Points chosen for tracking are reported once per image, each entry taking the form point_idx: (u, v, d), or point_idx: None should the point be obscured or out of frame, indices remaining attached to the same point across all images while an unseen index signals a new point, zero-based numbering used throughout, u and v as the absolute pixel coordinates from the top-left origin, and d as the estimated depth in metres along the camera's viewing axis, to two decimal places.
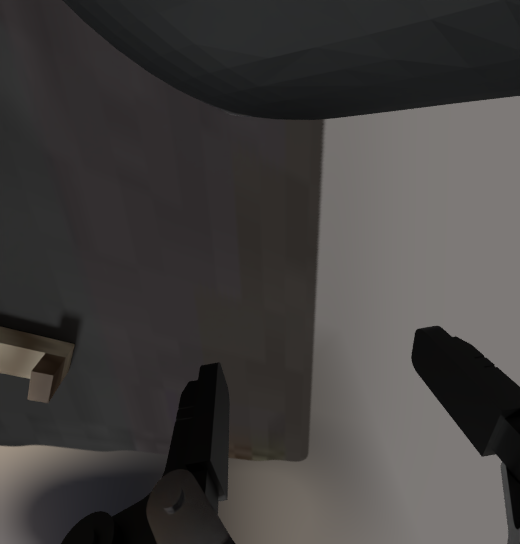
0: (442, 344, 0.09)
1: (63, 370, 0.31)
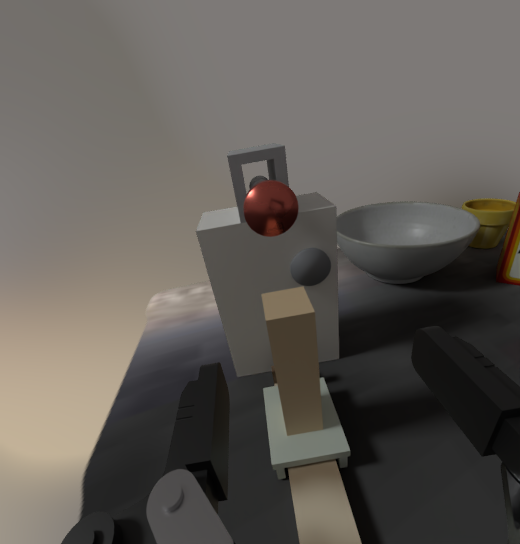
0: (442, 344, 0.09)
1: None
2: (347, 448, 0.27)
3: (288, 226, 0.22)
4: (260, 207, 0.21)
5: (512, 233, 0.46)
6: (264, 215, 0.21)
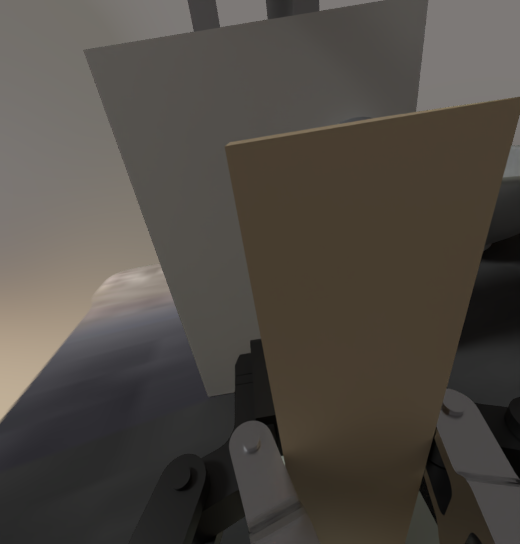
0: None
1: None
2: None
3: None
4: None
5: None
6: None
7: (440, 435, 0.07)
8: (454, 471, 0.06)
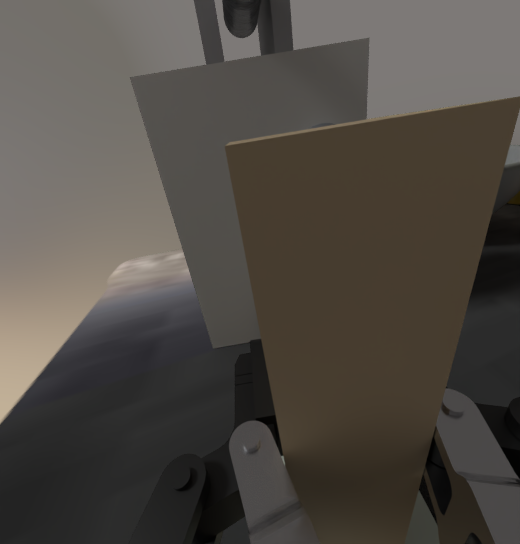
0: None
1: None
2: None
3: None
4: None
5: None
6: None
7: (440, 435, 0.07)
8: (454, 471, 0.06)
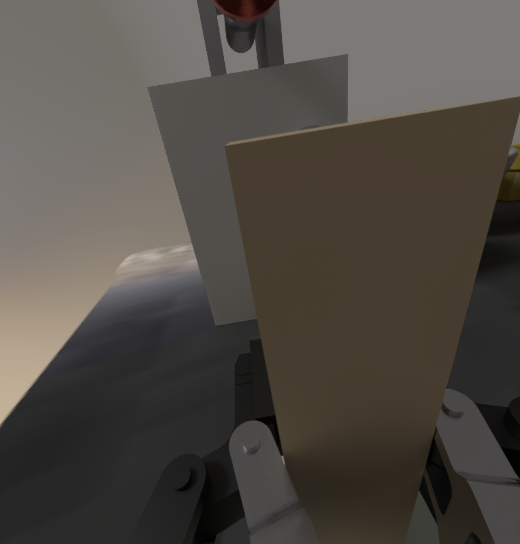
0: None
1: None
2: None
3: None
4: None
5: None
6: None
7: (440, 435, 0.07)
8: (454, 471, 0.06)
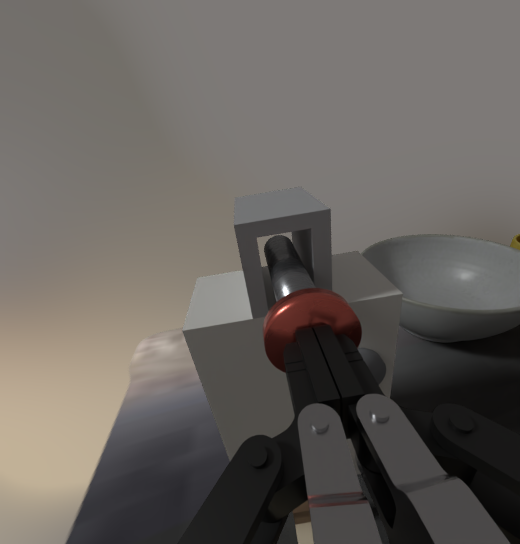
0: (323, 340, 0.10)
1: None
2: None
3: None
4: (294, 338, 0.12)
5: None
6: None
7: (375, 448, 0.07)
8: (394, 485, 0.06)
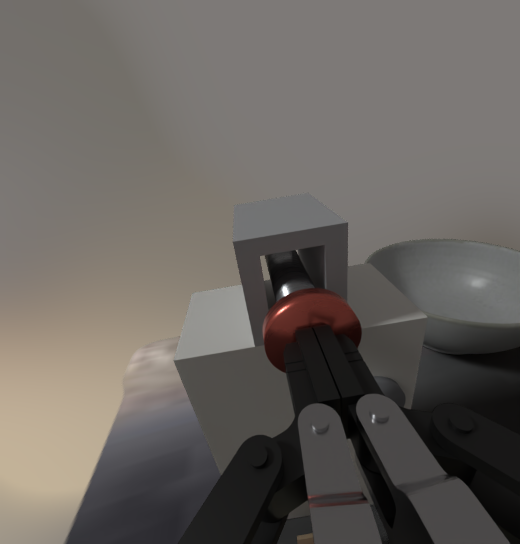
0: (323, 340, 0.10)
1: None
2: None
3: None
4: (294, 338, 0.12)
5: None
6: None
7: (375, 448, 0.07)
8: (394, 485, 0.06)
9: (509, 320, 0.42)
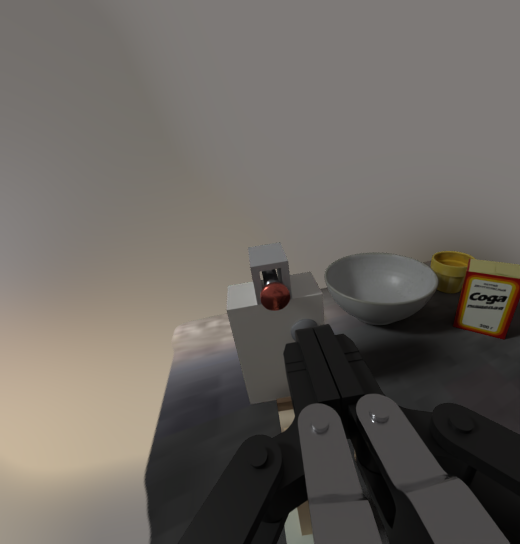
0: (323, 340, 0.10)
1: None
2: None
3: (284, 305, 0.39)
4: (269, 297, 0.38)
5: (462, 292, 0.60)
6: (271, 300, 0.39)
7: (375, 448, 0.07)
8: (394, 485, 0.06)
9: None
